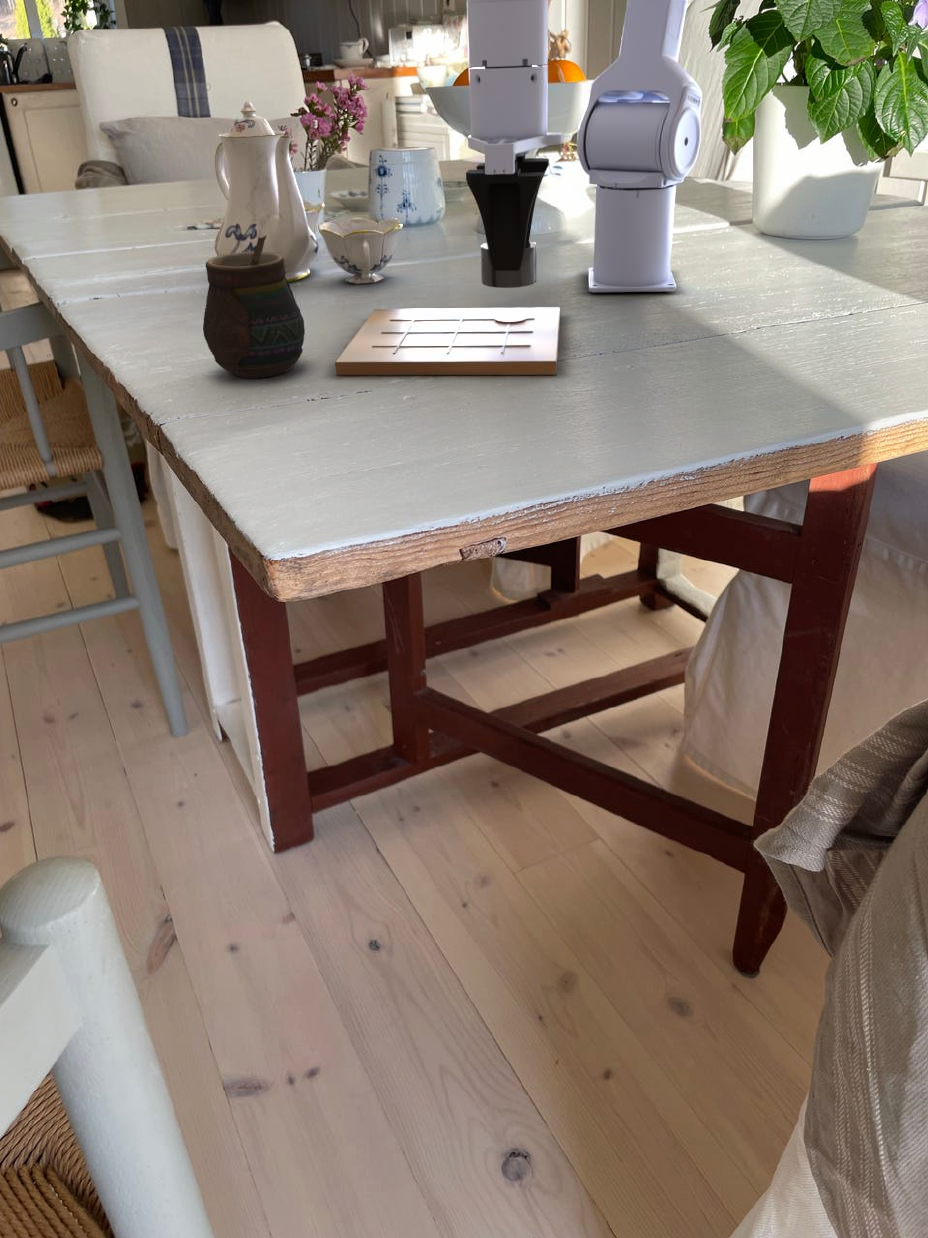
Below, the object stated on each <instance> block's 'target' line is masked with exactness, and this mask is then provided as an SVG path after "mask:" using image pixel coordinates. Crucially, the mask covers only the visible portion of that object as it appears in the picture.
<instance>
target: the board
mask: <svg viewBox="0 0 928 1238" xmlns="http://www.w3.org/2000/svg"><path fill="white" fill-rule="evenodd" d="M560 328H561V307H560V306H554V307H553V306H552V307H551V306H547V307H545V306H543V307H541V306H540V307H539V306H537V307H453V308H452V307H451V308H448V307H447V308H445V307H444V308H436V307H435V308H375V309H374V310H373V311H372V312H371V314H370V315H369V317H367V319H366V320H365V322H364V323H363V324H362V326H361V327H360V328H359V330H358V331H357V333H356V334H355V335H354V336H353V338H352V339H351V340H350V342H349V343H348V345H346V347H345V348H344V349H343V351H342V352H341V354H340V355H339V356H338V358H337V359H336V361H335V362H334V364H335V375H336V376H555V375H557V369H558V358H559V357H558V355H559V343H560V330H561V329H560Z"/></svg>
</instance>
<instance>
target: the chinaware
mask: <svg viewBox="0 0 928 1238" xmlns="http://www.w3.org/2000/svg"><path fill="white" fill-rule="evenodd" d="M240 113H241V114H242V116H240V117H238V118H236V119H235V120H234V122H233V124H232V126H231V130H230V132H225V133H223V134H222V133H220V134H218V135H217V137H219V139H220V143H219V144H218V145H217V147H216V149H215V156H214V168H215V175H216V179H217V183H218V186H219V188H220V191H221V192H222V195H223V196H224V198H225V200H226V201H227V206H226V209H225V210H226V211H225V214H224V217H223V220H222V222H221V225H220V227H219V230H218V232H217V235H216V238H215V241H214V245H213V247H214V248H213V249H214V252H215V254H216V256H220V255H225V254H231V253H239V252H254V249H255V246H256V245H257V242H258V237H260V238H262V237H264V236H266V235H267V236H266V239H265V241H264V245H263V251H262V252H272V253H276V254H279V255H282V256H283V257H284V260H285V261H284V264H285V270H286V275H285V277H286V279H287V282H288V283H291V282H295V281H299V280H302V279H304V278H307V277H308V276H310V274H311V270H310V269H309V266H310V265H311V263H312V262H313V260H314V259H315V258H316V255H317V254H318V252H319V242H318V240H317V238H316V236H315V235H316V232H317V229H318V232H319V234H320V235H321V237H322V238H323V241H324V243H325V245H326V249H327V252H328V254H329V256H330V258H331V259H332V260H333V262H334V263H335V264H336V265H337V267H339V268H340V269H341V270H343V271H344V272H346V273H348V274H351V275H352V276H350V277H348V278H346V280H345V282H349V283H353V284H356V285H357V284H358V285H359V284H370V283H376V282H379V281H381V280H383V279H384V277H383V276H381V275H379V274H377V273H378V272H380V271H382V270H383V269H384V268H386V267H387V265H388V264H389V263H390V262H391V260H392V258H393V256H394V254H395V251H396V247H397V242H398V237H399V234H400V232H401V231H402V229H403V227H404V226H403V224H402V223H401V221H400V220H399V219H397V218H396V217H391V218H390V217H389V218H385V219H383V220H379V221H378V222H376V221H374V220H372V219H370V218H367V217H359V216H355V217H351V218H346V219H345V220H343V221H342V222H340V223H338V224H335V223H332V222H329V221H326V222H320V223H319V217H320V213H321V211H322V210H324V209H325V207H326V205H325V204H324V202H319V203H317V204H315V205H313V204H312V203H311V202H309V201H307V200H303V198H302V195H301V192H300V190H299V186H298V183H297V180H296V176H295V174H294V169H293V167H292V163H291V158H290V150H289V149H290V143H291V140H292V136H291V135H287V134H286V135H284V134H285V132H286V130H285V131H282V130H272V128H271V126H270V124H269V122H268V121H267V120H266V119H265V118H264V117H262V116H259V115H256V113H257V109H256V108H255V107H254V106H253V104H252V103H251V102H250V101H248V100H247V101H245V102H244V103H243V107H242V109H241V110H240ZM225 156H226V161H227V168H228V169H227V170H228V177H229V184H228V181H227V177H226V172H225V164H224V163H225V161H224V159H225ZM318 223H319V224H318Z"/></svg>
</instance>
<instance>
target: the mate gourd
mask: <svg viewBox="0 0 928 1238" xmlns="http://www.w3.org/2000/svg"><path fill="white" fill-rule="evenodd" d="M266 236H267V235H266ZM266 236H264V237H262V238H260V237H258V242H257V245H256V246H255V249H254V252H239V253H231V254H225V255H220V256H218V255H216V256H214V257H211V258H209V259H208V260H207V261H206V262H205V270H206V276H207V282H208V288H207V293H206V294H207V296H206V300H205V302H206V303H205V309H204V312H203V313H204V315H203V323H202V332H203V337H204V339H205V342H206V344H207V347H208V349H209V351H210V353H211V355H212V356H213V358H214V361H215V363H216V364H217V365H218V366H220V367H221V368H222V369H224V370H225V371H226V372H229V373H230V374H231V375H233V376H236V377H240V378H246V379H260V378H267V377H273V376H277V375H280V374H283V373H285V372H287V371H289V370H291V368H292V367H293V366H294V365H296V363H297V362H298V361H299V359H300V358H301V356H302V354H303V351H304V349H303V345H304V342H305V335H306V332H305V331H306V329H305V320H304V317H303V315H302V313H301V309H300V307H299V304H298V303H297V300H296V298H295V295H294V293H293V291H292V289H291V287H290V284H289V282H287V279H286V277H285V275H286V270H285V264H284V261H285V260H284V257H283V256H282V255H279V254H276V253H272V252H262V251H263V245H264V241H265V239H266Z"/></svg>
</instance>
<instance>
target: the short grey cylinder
mask: <svg viewBox="0 0 928 1238" xmlns="http://www.w3.org/2000/svg"><path fill="white" fill-rule="evenodd" d="M537 250H538V245H537V243H536V242H534V241H530V240H529V241H526V243H525V250H524V256H523V261H522V264H521V268H520V270H519V271H494V270H493V267H492V264H491V260H490V256H489V251H488V245H487V242H485V243H483V244H481V245H480V267H481V268H480V269H481V270H480V272H481V275H480V277H481V284H482V285H484V286H486V287H489V288H490V287H491V288H499V289H513V288H514V289H516V288H523V287H528V286H532V285H534V284H536V283H537V279H538V277H537V276H538V275H537V271H538V269H537V265H538V264H537V263H538V260H537V259H538V257H537V255H538V251H537Z"/></svg>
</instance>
